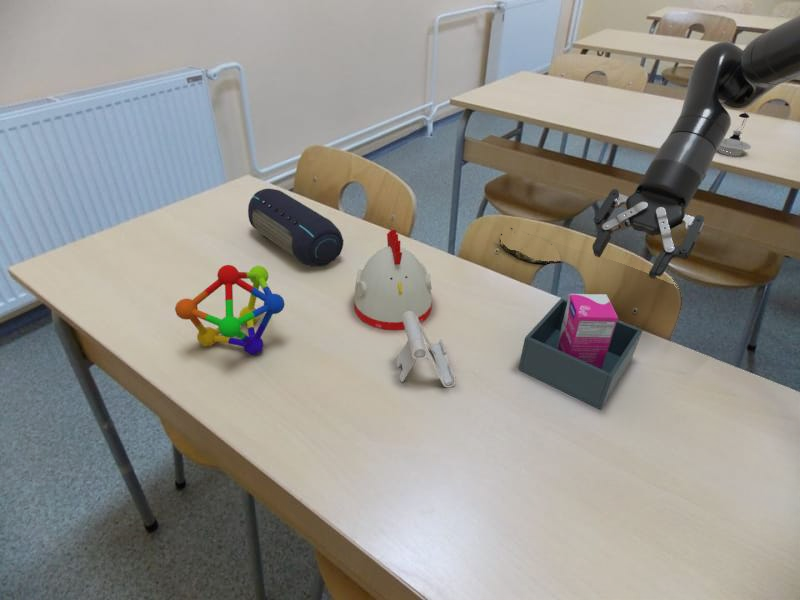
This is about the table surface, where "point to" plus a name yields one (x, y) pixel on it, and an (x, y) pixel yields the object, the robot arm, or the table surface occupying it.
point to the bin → (571, 371)
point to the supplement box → (587, 328)
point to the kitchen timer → (392, 287)
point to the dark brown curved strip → (524, 256)
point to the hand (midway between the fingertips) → (623, 265)
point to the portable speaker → (295, 227)
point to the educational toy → (229, 323)
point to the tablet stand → (423, 351)
